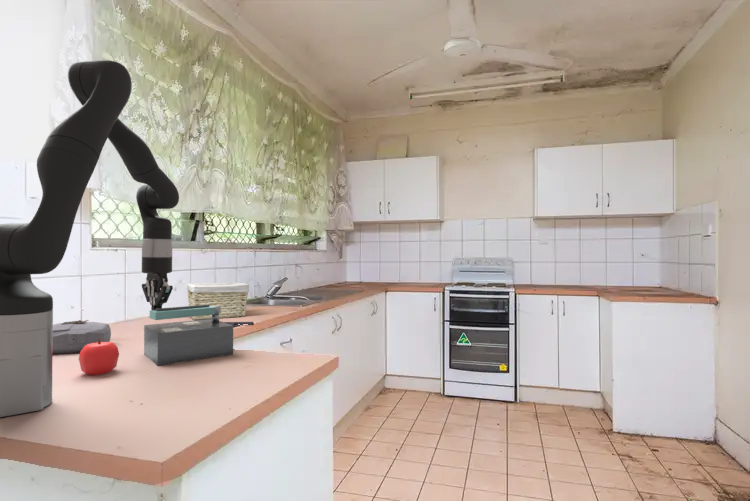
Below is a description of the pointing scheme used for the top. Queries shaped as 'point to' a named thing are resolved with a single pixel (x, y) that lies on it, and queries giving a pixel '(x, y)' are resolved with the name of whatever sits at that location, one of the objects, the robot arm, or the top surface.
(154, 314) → the bar
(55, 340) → the small grey backpack
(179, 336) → the box
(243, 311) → the storage basket
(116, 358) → the apple
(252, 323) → the squeegee
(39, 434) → the top surface
